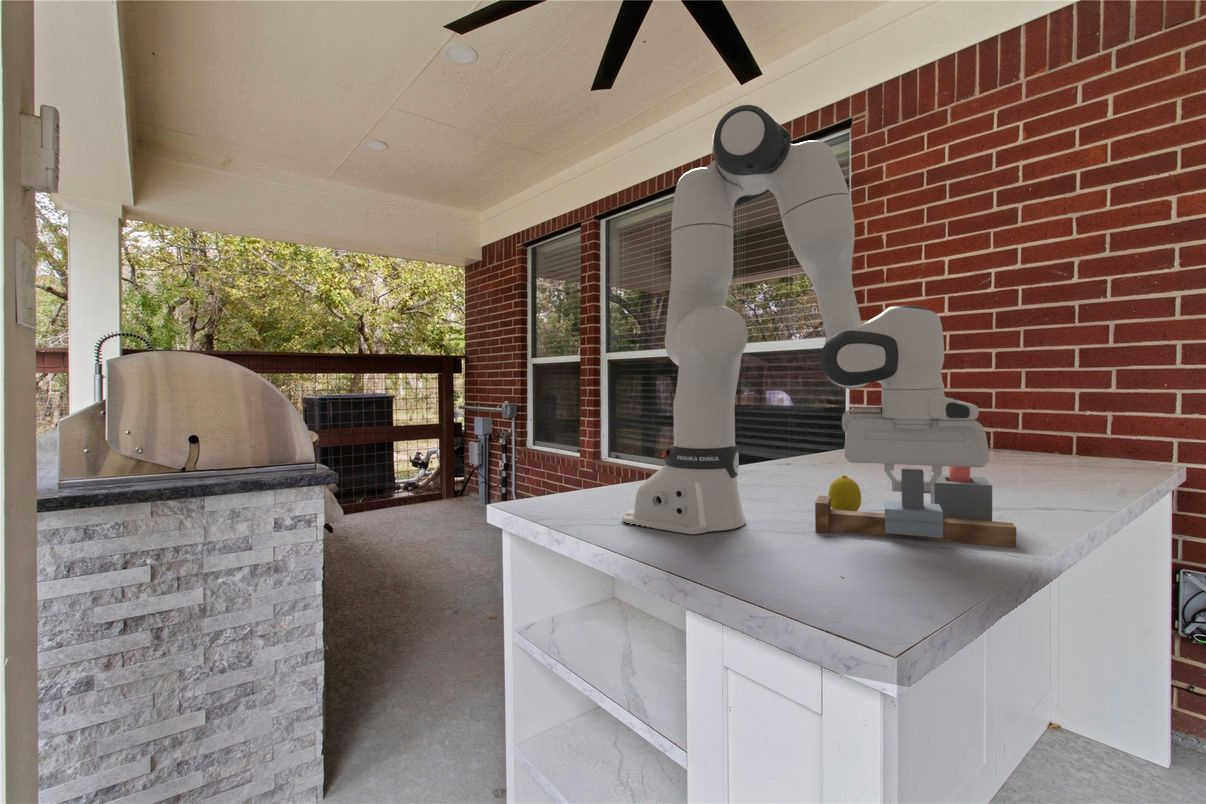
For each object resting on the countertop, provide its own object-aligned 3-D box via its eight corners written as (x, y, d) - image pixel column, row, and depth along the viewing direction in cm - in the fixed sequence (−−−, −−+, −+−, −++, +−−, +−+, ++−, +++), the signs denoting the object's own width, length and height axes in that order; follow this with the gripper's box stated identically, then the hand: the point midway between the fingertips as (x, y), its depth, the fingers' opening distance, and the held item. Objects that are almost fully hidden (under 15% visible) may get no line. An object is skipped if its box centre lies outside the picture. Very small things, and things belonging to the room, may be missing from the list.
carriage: (885, 533, 89) (884, 471, 89) (884, 523, 95) (884, 465, 94) (943, 538, 86) (943, 474, 85) (939, 528, 91) (939, 467, 91)
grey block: (934, 530, 93) (934, 482, 93) (930, 518, 100) (930, 474, 100) (992, 534, 90) (992, 485, 89) (983, 522, 97) (983, 477, 96)
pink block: (950, 498, 94) (950, 463, 94) (948, 494, 97) (948, 460, 97) (971, 499, 93) (971, 464, 92) (968, 496, 95) (968, 461, 95)
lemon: (864, 522, 99) (864, 478, 99) (831, 522, 100) (831, 477, 100) (857, 515, 104) (856, 472, 104) (825, 514, 105) (825, 472, 105)
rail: (815, 531, 94) (815, 502, 94) (818, 523, 99) (818, 495, 99) (1018, 550, 82) (1018, 516, 81) (1009, 539, 87) (1010, 507, 87)
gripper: (840, 408, 91) (841, 491, 92) (991, 408, 82) (990, 500, 83) (843, 405, 97) (843, 484, 97) (983, 405, 88) (983, 492, 88)
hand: (912, 492), depth 90 cm, fingers closed on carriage, 3 cm apart
